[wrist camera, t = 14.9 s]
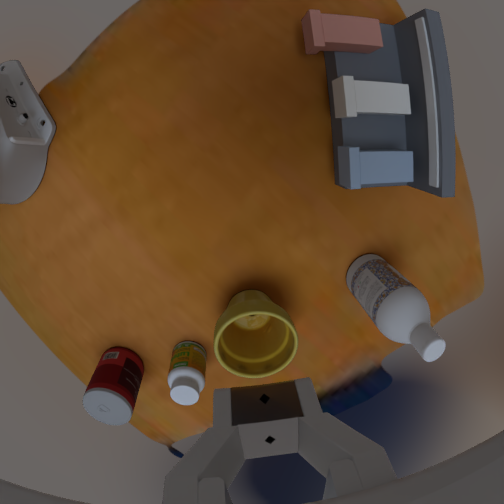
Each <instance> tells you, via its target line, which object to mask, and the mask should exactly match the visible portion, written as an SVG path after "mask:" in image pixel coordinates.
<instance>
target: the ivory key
mask: <svg viewBox="0 0 504 504" xmlns="http://www.w3.org/2000/svg"><path fill="white" fill-rule="evenodd" d="M332 87H333V97H334V107H335V118H349V117H357V114H376V115H408V114H411V107H410V96H409V86H408V84H399V83H388V82H375V81H359V80H354V79H353V76H341V77H339V78H337V79H335V80H333V81H332Z"/></svg>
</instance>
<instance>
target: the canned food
mask: <svg viewBox="0 0 504 504" xmlns="http://www.w3.org/2000/svg"><path fill="white" fill-rule="evenodd" d="M143 373H144V368H143V363H142V361H141V359H140V358H139V356H138V355H137V354H135V353H134V352H133V351H131V350H129V349H126V348H122V347H115V348H111V349H109V350H107V351H106V352H105V353H104V354H103V355H102V357H101V359H100V361H99V363H98V365H97V367H96V369H95V372H94V374H93V376H92V378H91V380H90V382H89V385H88V387H87V389H86V391H85V394H84V397H83V405H84V408H85V409H86V411H87V412H88V413H89V414H90V415H91V416H92V417H93V418H95V419H97V420H98V421H100V422H103V423H105V424H109V425H122V424H125V423H127V422H128V421H129V420H130V419H131V416H132V414H133V410H134V407H135V403H136V399H137V395H138V391H139V388H140V384H141V380H142V377H143Z"/></svg>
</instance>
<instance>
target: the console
mask: <svg viewBox="0 0 504 504" xmlns="http://www.w3.org/2000/svg"><path fill="white" fill-rule="evenodd" d="M379 24H380V30H381V36H382V42H383V47H382V48H380V49H378V50H376V51H374V52H371V53H369V54H367V53H355V52H339V51H324V56H325V64H326V73H327V82H328V91H329V101H330V112H331V124H332V138H333V153H334V170H335V184H336V185H338V186H341V187H343V188H345V189H349V188H347V187H345V186H342V185H340V184H339V163H338V146H352V147H359V150H366V149H399V150H406V151H413V182H396V183H376V184H361V188H365V187H382V186H401V185H408V186H411V187H414V188H417V189H420V190H422V191H425V192H428V193H431V194H434V195H437V196H439V197H455V127H454V112H453V99H452V88H451V79H450V72H449V64H448V57H447V51H446V45H445V39H444V34H443V29H442V24H441V19H440V15H439V12H436V11H433V10H429V9H423V10H421V11H419V12H417V13H415V14H414V15H412V16H410V17H408V18H406V19H404V20H402V21H400V22H399V23H397V24H395V25H388V24H382V23H379ZM341 76H353V79H354V80H359V81H375V82H388V83H399V84H408V86H409V96H410V107H411V114H408V115H376V114H357V117H349V118H335V107H334V97H333V87H332V81H333V80H335V79H337V78H339V77H341Z"/></svg>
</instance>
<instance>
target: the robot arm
mask: <svg viewBox="0 0 504 504" xmlns="http://www.w3.org/2000/svg"><path fill="white" fill-rule="evenodd" d="M4 67H5V69H4ZM3 69H4V70H3ZM44 120H45V124H44V125H43V121H44ZM55 130H56V125H55V122H54V121H53V119H52V117H51V116H50V114H49V112H48V111H47V109H46V107H45V106H44V104H43V102H42V101H41V99H40V97H39V95H38V94H37V92H36V90H35V88H34V87H33V85H32V83H31V81H30V79H29V78H28V76H27V74H26V72H25V70H24V69H23V67H22V65H21V63H20V62H19V61H18V60H10V61H7V62H4V63H2V64H0V204H3V203H4V204H18V203H21V202H23V201H25V200H26V199H28V198H29V197H30V196H31V195H32V194H33V193H34V192H35V190H36V189H37V187H38V186H39V184H40V182H41V180H42V177H43V174H44V171H45V166H46V160H47V151H48V147H49V145H50V143H51V140H52V138H53V136H54V134H55ZM296 452H299V454H300V455H301V456H302V457H303V458H304V459H305V460H306V461H308V462H309V463H310V464H311V465H312V466H313V467H314V468H315V469H316V470H318V471H319V472H320V473H321V474H322V475H323V476H324V477H326V478H327V480H326V486H325V491H324V496H323V500H321V501H316V502H311V503H306V504H504V430H503V431H501V432H500V433H498V434H496V435H495V436H493V437H491V438H489V439H488V440H486V441H484V442H482V443H480V444H478V445H476V446H474V447H472V448H470V449H468V450H466V451H464V452H462V453H461V454H458V455H456V456H454V457H452V458H450V459H447V460H445V461H443V462H441V463H438V464H436V465H434V466H431V467H429V468H427V469H424V470H422V471H419V472H416V473H414V474H411V475H409V476H406V477H403V478H400V479H397V477H396V475H395V472H394V471H393V468H392V466H391V463H390V461H389V459H388V457H387V454H386V452H385V450H384V448H383V447H381V446H380V445H378V444H376V443H375V442H373V441H372V440H370V439H368V438H367V437H365V436H363V435H362V434H360V433H359V432H357V431H355V430H354V429H352V428H351V427H349V426H347V425H346V424H344V423H343V422H341V421H340V420H338V419H336V418H335V417H333V416H332V415H330V414H329V413H322V410H321V407H320V404H319V401H318V398H317V395H316V392H315V389H314V386H313V383H312V381H311V379H310V378H309V377H307V378H302V379H296V380H294V381H293V380H290V381H284V382H277V383H270V384H263V385H255V386H244V387H232V388H222V389H215V390H214V398H213V428H208V429H207V430H206V431H205V432H204V434H203V435H202V436H201V437H200V438H199V439H198V441H197V442H196V443H195V444H194V445H193V446H192V447H191V448H190V450H189V451H188V452H187V453H186V454H185V455H184V456H183V458H182V459H181V460H180V461H179V462H178V463H177V464H176V466H175V467H174V468H173V469H172V470H171V471H170V472H169V473H168V474H167V475H166V476H165V482H164V491H163V500H162V504H233V503H232V500H231V497H230V495H229V492H228V488H229V486H230V484H231V483H232V481H233V479H234V478H235V476H236V475H237V473H238V471H239V470H240V468H241V466H242V465H243V463H244V461H245V459H250V458H258V457H265V456H273V455H280V454H289V453H296ZM0 504H89V503H84V502H79V501H75V500H70V499H66V498H61V497H57V496H53V495H50V494H45V493H42V492H39V491H35V490H32V489H28V488H25V487H22V486H19V485H16V484H13V483H10V482H8V481H5V480H2V479H0Z"/></svg>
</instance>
